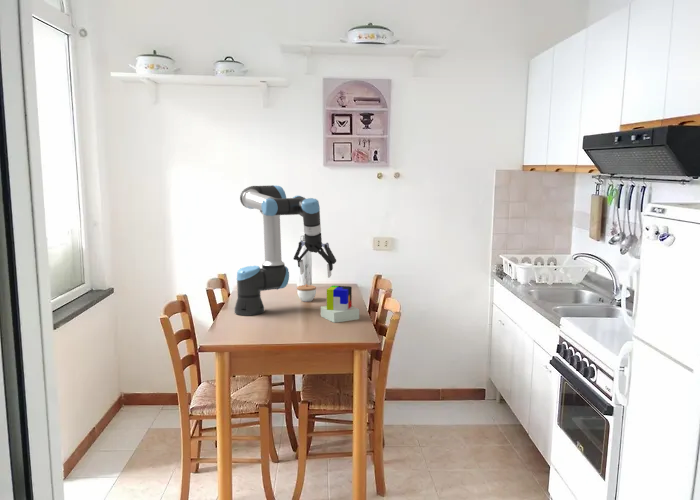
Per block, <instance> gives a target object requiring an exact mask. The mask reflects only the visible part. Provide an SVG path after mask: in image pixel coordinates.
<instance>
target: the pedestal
mask: <svg viewBox="0 0 700 500" xmlns="http://www.w3.org/2000/svg"><path fill="white" fill-rule="evenodd" d="M320 317H321V318H323V319H326V320H327V321H329V322H332V323H334V324H335V323H336V324H337V323H342V322H348V321H354V320H360V308H357V307H355V306H353V305H352V306H351V307H350V308H349V309H348V310H347V311H340V310H327V305H324V306H322V305H321V306H320Z"/></svg>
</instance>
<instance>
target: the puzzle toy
mask: <svg viewBox="0 0 700 500" xmlns="http://www.w3.org/2000/svg"><path fill="white" fill-rule="evenodd" d="M352 288H353V287H352V286H348V285H347V286H346V285H345V286H344V285H331V286H330V287H328V288H327V289H326V306H327V310H340V311H347V310H348V309H349V308H350V307H351V306H353V305H352V296H353V295H352Z"/></svg>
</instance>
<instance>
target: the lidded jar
mask: <svg viewBox="0 0 700 500" xmlns="http://www.w3.org/2000/svg"><path fill="white" fill-rule="evenodd" d="M296 292H297V296H298V298H299V300H301V302H304V303H305V302H307V303H309V302H312V301H313V300H314V298H315V297H316V293H317V286H315V285H313V284H307V283H305V284H304V285H298V286H297V287H296Z"/></svg>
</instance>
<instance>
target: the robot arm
mask: <svg viewBox="0 0 700 500" xmlns="http://www.w3.org/2000/svg"><path fill="white" fill-rule="evenodd" d="M239 201H240V203H241V205H242V206H243V207H244V208H246V209H250V210H252V209H253V210H254V209H255V210H259V213H260V214H261V215H262V219H263V242H264V244H263V245H264V261H263V262H262V266H261V267H262V268H261V267H260V266H259V265H248V266H244V267H242V268H240V269H238V270H237V272H236V289H237V299H236V302H235V306H234V314H235V313H236V314H235V315H237V314H238V316H256V315H261V314H264V312H265V305H264V303H263V301H262V297H261V293H262V292H265V291H273V290H276V291H278V290H281V289H285V288H286V287H287V285H288V284H289V280H290V271H289V268H288V267H287V266H285V262H284V261H282V239H281V238H282V236H281V235H282V234H281V217H280V216H292V215H293V216H295V215H299V216H301V217H302V219H303V220H302V221H303V232H304V240H300V241H299V242H298V247H297V249H296V251H295V254H294V256H293V260H294V261H297V266H298V268H299V272H300V275H303V274H304V273H305V267H304V259H303V258H304V257H305V255H306V254H307V253H308V252H309V253H318V255H320V256H321V257H322V258H323V259H324V260H325V262H326V263H327V265H326V268H327V269H326V270H327V278H331V276H332V271H333V269H334V264H335V263H336V262H337V259H336V257H335V255H334V253H333V251H332V250H331V248H330V245H329V244H330V243H329V242H326V243H323V240H322V228H321V214H320V213H321V211H320V209H321V208H320V202H319V200H318V199H317V198H313V197H310V198H309V197H307V198H305V196H302V195H295V196H293V197H290V198H287V195H286V192H285V190H284V188H283V187H282V186H280V185H251V186H248V187H246V188H244V189H243V190H242V191H241V192H240V195H239ZM304 246H305V248H306V249H305V250H304V251H303V252H302V253H301V250H302V249H303V247H304ZM300 253H301V255H300ZM299 255H300V256H299Z"/></svg>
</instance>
